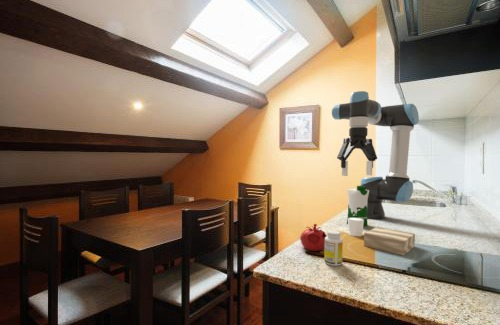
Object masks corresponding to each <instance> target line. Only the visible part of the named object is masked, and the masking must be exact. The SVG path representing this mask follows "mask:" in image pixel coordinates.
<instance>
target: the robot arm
mask: <svg viewBox="0 0 500 325" xmlns="http://www.w3.org/2000/svg"><path fill="white" fill-rule="evenodd" d="M349 96H350V97H349V98H350V99H349V102H347V103H339V104H335V105H333V107H332V108H331V117H332V119H334V120H340V121H341V120H349V130H348V134H349V137H344V138H343V142H342V145H341V147H340V149H339V152H338V154H337V157H336V158H337V159H338V160H339V161H340V168H341V176H343V177H344V176H346V177H348V175H349V174H348V170H349V169H348V168H349V167H348V166H349V161H348V158H349V157H350V156H351V154H352V153H353V151H354V150H356V149H359V150H360V151H362V152H363V154H364V156H365V157H366V159H367V160H366V169H365V171H366V173H365V175H366V176H368V177H362V178H361V179H360V185H359V186H365V190H369V195H368V200H367V219H370V218H371V219H372V220H374V219H375V220H381V219H382V218H383V219H385V217H386V213H385V210H384V207H383V201H388V202H396V203H407V202H409V200H410V199H411V198H412V195H413V192H414V183H413V181H411V180H410V176H408V175H407V173H408V162H409V150H410V138H411V132H412V131H414V128H415V126H416V125H418V124H419V117H420V115H419V111H418V108H417V106H416V105H415V104H414V103H402V104H395V105H394V104H393V105H386V106H381V105H382V104H380V103H379V102H378V101H376V100H372V99H370V97H369V92H368V91H365V90H364V91H363V90H362V91H361V90H359V91H353V92H352V93H351V94H350V95H349ZM368 125H373V126H378V127H379V126H380V127H389V129H390V131H392V135H391V147H390V158H389V168H388V173H387V174H386V175H385V178H384V177H383V176H373V168H374V162H376V160H378V156H377V153H376V150H375V147H374V145H373V139H372V138H367V137H368V130H369V129H368V128H367V127H368ZM369 176H372V177H369ZM371 219H370V220H371ZM383 219H382V220H383Z"/></svg>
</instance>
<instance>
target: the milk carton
mask: <svg viewBox="0 0 500 325" xmlns="http://www.w3.org/2000/svg"><path fill="white" fill-rule="evenodd" d="M346 191H347V201H348V202H347V219H346V224H347V225H348V218H361V219H364V224H363V227H368V218H367V200H368V195H369V190H365V186H360V185H356V188H349V189H348V188H347V189H346Z"/></svg>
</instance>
